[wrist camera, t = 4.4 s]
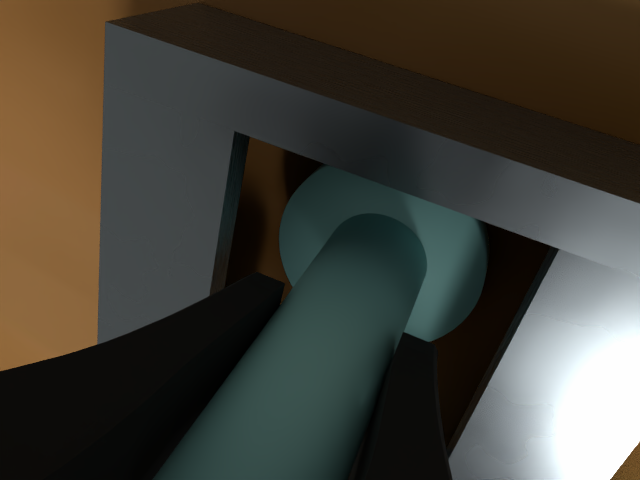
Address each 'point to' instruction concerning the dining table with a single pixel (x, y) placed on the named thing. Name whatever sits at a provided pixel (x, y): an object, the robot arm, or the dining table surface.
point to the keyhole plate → (395, 172)
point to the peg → (335, 330)
